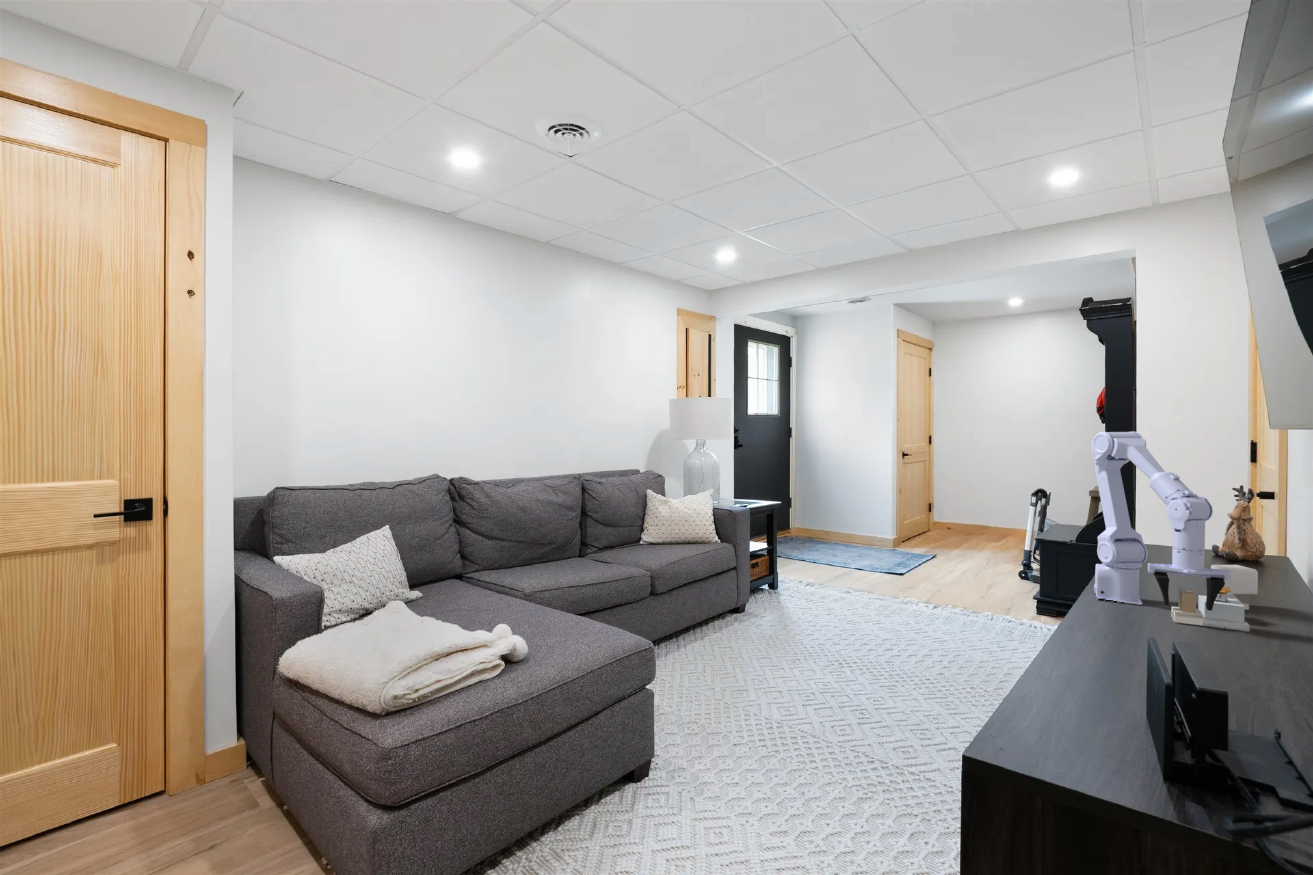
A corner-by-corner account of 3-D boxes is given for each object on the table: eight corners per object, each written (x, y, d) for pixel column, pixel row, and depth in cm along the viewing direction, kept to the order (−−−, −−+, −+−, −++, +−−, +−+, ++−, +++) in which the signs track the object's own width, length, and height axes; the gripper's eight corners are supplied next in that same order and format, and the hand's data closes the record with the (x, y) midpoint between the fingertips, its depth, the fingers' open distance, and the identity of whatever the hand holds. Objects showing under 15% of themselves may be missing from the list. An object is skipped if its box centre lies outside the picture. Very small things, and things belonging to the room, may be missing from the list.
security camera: (1257, 610, 154) (1258, 570, 154) (1228, 610, 154) (1229, 570, 154) (1234, 602, 160) (1235, 564, 160) (1206, 602, 161) (1207, 564, 160)
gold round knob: (1212, 606, 148) (1213, 587, 148) (1209, 602, 151) (1209, 584, 151) (1231, 608, 146) (1232, 589, 146) (1228, 604, 149) (1228, 586, 149)
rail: (1174, 622, 145) (1174, 615, 145) (1172, 619, 147) (1172, 612, 147) (1249, 631, 138) (1249, 625, 138) (1246, 628, 140) (1246, 622, 140)
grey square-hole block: (1204, 618, 148) (1204, 602, 147) (1198, 611, 153) (1198, 594, 153) (1244, 623, 144) (1244, 606, 144) (1236, 615, 150) (1236, 599, 150)
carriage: (1174, 621, 144) (1175, 593, 144) (1171, 616, 148) (1172, 588, 148) (1203, 625, 142) (1203, 596, 142) (1199, 620, 146) (1199, 591, 145)
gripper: (1151, 548, 145) (1150, 606, 145) (1234, 555, 137) (1233, 616, 138) (1146, 543, 151) (1146, 599, 151) (1226, 549, 143) (1225, 608, 144)
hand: (1187, 606), depth 145 cm, fingers open, 7 cm apart
